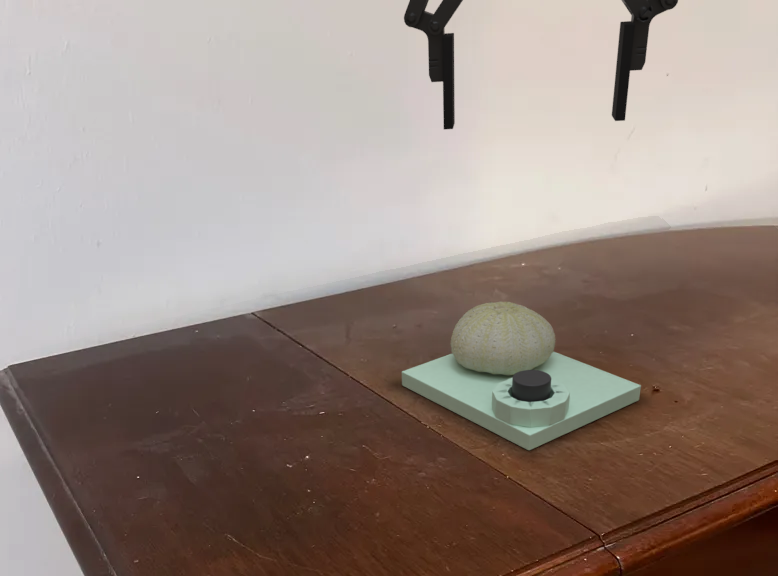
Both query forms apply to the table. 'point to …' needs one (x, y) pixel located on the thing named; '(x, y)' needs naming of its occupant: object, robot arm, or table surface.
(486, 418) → the scale
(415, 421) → the table surface
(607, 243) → the table surface
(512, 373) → the sea urchin shell
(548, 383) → the power button
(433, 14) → the robot arm
